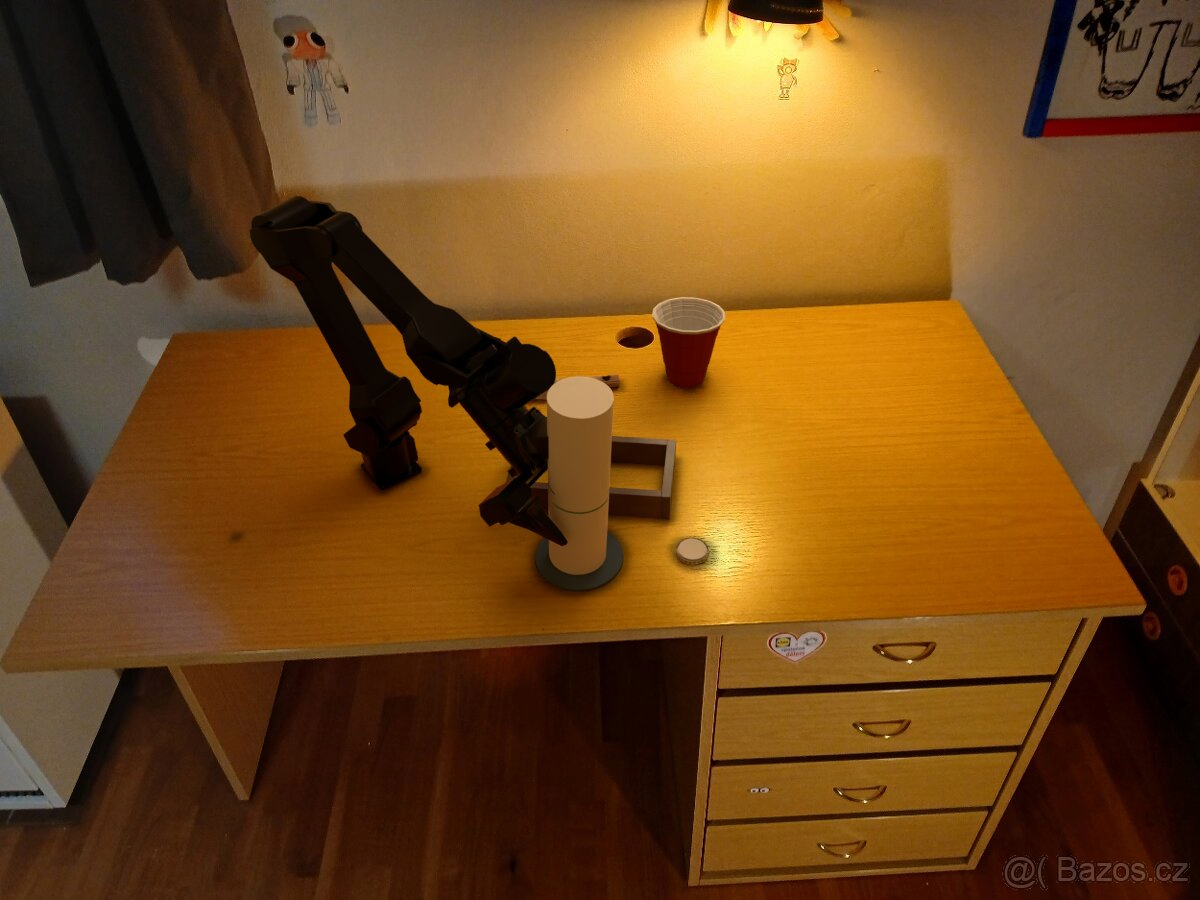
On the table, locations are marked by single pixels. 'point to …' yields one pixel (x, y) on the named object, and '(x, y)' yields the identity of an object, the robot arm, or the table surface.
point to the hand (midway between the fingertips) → (586, 520)
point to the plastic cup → (687, 338)
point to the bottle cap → (692, 550)
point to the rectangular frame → (627, 498)
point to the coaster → (585, 580)
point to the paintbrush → (608, 380)
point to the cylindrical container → (579, 471)
